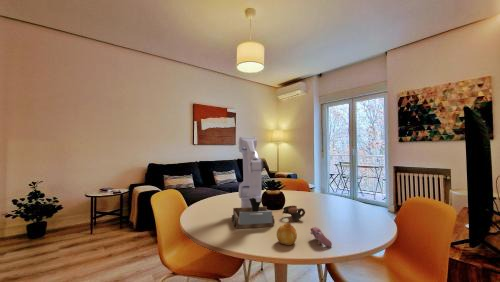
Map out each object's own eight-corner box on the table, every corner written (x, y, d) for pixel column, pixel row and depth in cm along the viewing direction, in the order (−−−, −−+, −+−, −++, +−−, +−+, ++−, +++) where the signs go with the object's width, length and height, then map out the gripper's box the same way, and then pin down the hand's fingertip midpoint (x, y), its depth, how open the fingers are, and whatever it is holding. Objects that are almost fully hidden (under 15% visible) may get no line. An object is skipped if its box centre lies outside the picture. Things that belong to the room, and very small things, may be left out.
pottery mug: (283, 222, 119) (280, 206, 124) (286, 225, 127) (283, 210, 131) (306, 218, 117) (302, 202, 121) (308, 221, 125) (304, 206, 129)
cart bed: (267, 217, 126) (267, 206, 126) (275, 226, 112) (275, 213, 113) (231, 219, 123) (231, 208, 123) (234, 228, 109) (234, 215, 109)
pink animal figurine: (313, 241, 98) (306, 226, 98) (323, 236, 99) (315, 221, 99) (323, 251, 89) (315, 235, 88) (333, 246, 89) (325, 229, 89)
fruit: (301, 242, 88) (296, 220, 92) (280, 244, 87) (276, 222, 91) (296, 245, 95) (292, 225, 99) (277, 248, 94) (274, 227, 98)
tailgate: (271, 222, 112) (271, 210, 112) (272, 223, 110) (272, 211, 110) (239, 224, 109) (239, 212, 109) (239, 225, 107) (239, 213, 107)
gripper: (244, 183, 118) (244, 210, 117) (250, 188, 103) (249, 218, 103) (258, 182, 119) (258, 209, 119) (265, 187, 105) (265, 218, 104)
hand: (255, 213), depth 111 cm, fingers closed, pressing on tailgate
